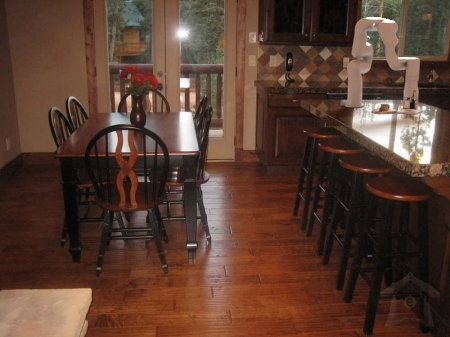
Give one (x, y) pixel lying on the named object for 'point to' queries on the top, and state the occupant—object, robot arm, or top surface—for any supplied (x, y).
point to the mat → (409, 111)
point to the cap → (408, 103)
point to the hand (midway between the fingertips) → (410, 107)
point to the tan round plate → (384, 109)
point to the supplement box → (412, 98)
